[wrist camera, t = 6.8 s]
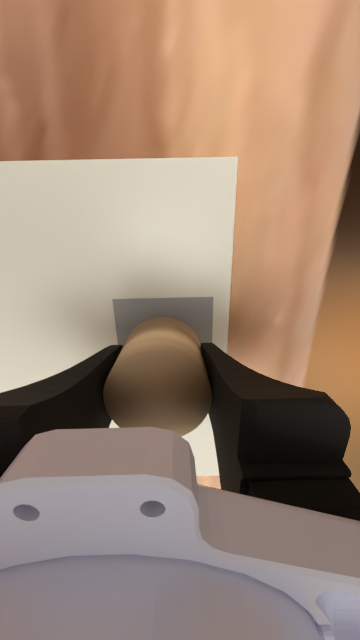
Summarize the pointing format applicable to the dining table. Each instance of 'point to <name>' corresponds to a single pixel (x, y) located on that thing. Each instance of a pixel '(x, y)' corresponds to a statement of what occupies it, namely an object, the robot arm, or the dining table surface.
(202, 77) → the dining table surface
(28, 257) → the baseplate
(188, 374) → the maple drum
